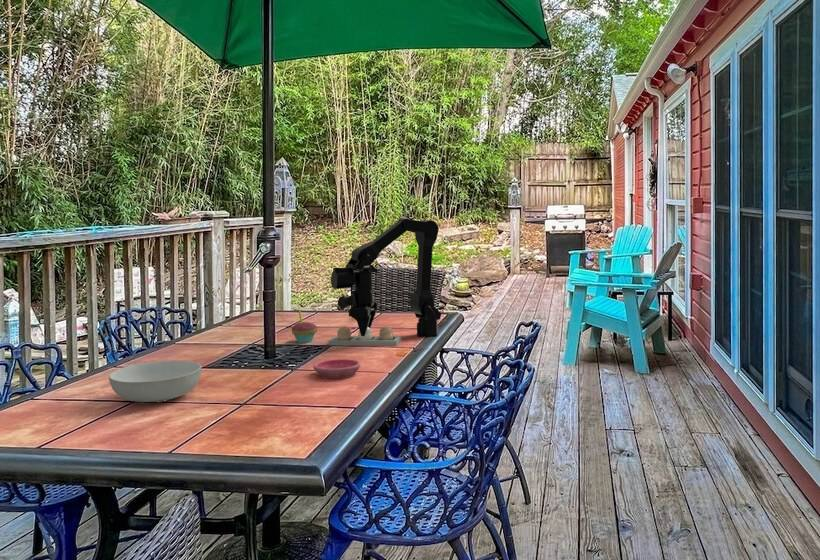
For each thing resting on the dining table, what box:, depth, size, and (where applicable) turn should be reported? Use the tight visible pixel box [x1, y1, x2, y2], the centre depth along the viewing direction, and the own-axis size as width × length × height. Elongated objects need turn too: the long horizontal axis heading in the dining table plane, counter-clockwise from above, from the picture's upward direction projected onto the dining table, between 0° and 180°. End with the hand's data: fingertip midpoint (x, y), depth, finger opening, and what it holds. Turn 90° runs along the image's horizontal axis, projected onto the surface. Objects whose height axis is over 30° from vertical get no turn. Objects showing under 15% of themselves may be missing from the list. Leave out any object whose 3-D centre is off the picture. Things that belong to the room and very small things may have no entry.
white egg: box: [357, 327, 373, 340], centre depth 222 cm, size 4×4×5 cm
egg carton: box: [327, 335, 402, 347], centre depth 222 cm, size 22×8×2 cm, turn 81°
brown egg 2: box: [378, 325, 394, 340], centre depth 221 cm, size 4×4×5 cm
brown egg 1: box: [336, 326, 352, 340], centre depth 223 cm, size 4×4×5 cm
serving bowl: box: [108, 360, 202, 403], centre depth 164 cm, size 21×21×7 cm
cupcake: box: [290, 307, 318, 344], centre depth 227 cm, size 9×8×12 cm
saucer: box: [313, 358, 361, 380], centre depth 183 cm, size 12×12×3 cm
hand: (365, 334), depth 222 cm, fingers open, 6 cm apart
